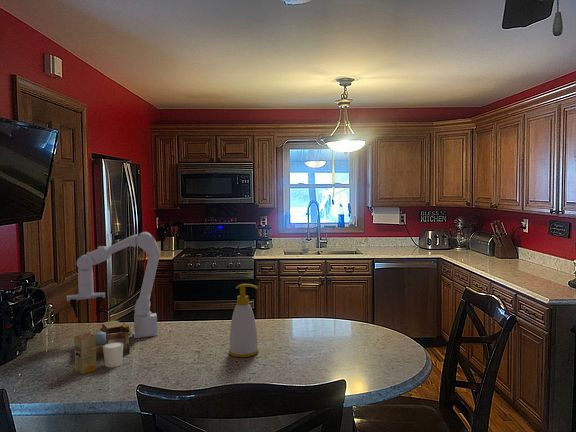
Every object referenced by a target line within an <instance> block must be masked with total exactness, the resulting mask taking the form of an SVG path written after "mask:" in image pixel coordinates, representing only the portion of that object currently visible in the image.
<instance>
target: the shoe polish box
mask: <svg viewBox="0 0 576 432" xmlns="http://www.w3.org/2000/svg"><path fill="white" fill-rule="evenodd" d="M73 338H74V340H73V341H74V343H73V344H74V369H75V372H77V373H79V374H81V375H84V374H88V373H91V372H94V371H97V358H96V341H95V334H91V333H89V332H87V333H83V334H78V335H75V336H73Z"/></svg>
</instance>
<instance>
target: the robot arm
mask: <svg viewBox="0 0 576 432" xmlns="http://www.w3.org/2000/svg"><path fill="white" fill-rule="evenodd" d="M137 246H138V247H139V248H140V249H141V250H143V251H144V252H145V254H147V256H148V257H147V263H146V267H145V271H144V275H143V280H142V284H141V289H140V293H139V297H138V298H137V299H136V301H135V305H134V308H133V310H134V313H133V320H134V322H133V323H134V326H133V327H134V331H133V332H132V334H133V335H132V336H133V338H134V339H139V338H147V337H155V336H158V329H159V328H158V317H157V313H156V312H154V313H153V312H152V311H151V303H152V302H151V296H152V292H153V286H154V282H155V279H156V273H157V270H158V264H159V260H160V256H161V251H160V248H159V246H158V244H157V241H156V239H155V237H154V235H152V234H151V233H150V232H148V231H142V232H140V233H136V234H133V235H130V236H128V237H125V238H124V239H122V240H120V241H118V242H116V243H114V244H112V245H110V246H106V245H105V246H104V245H99V246H97V247H96V248H97V249H94V250H92V251H87V252H86V254H83V255H81V256H80V257H78V258H77V260H76V266H77V273H78V274H77V281H78V282H77V283H78V294H69V295H66V301H67V302H69V304H70V306H71V307H72V310H73V312H74V315H75V319H77V318H79V315H78V313H79V312H78V301H79V300H81V301H82V300H90V299H91V300H93V299H95V304H96V305H95V306H96V307H95V308H96V309H95V310H96V311H95V316H99V310H100V308H101V305H102V302H103V299H105V298H106V292H95V291H94V287H95V286H94V272H93V265H94V266H96V265H98V264H100V263H102V262H105V261H107V260H110V258H111V256H112V254H115V253H116V252H119V251H122V250H124V249H126V248H128V247H134V248H136V247H137Z"/></svg>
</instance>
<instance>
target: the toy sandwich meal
mask: <svg viewBox="0 0 576 432" xmlns="http://www.w3.org/2000/svg"><path fill="white" fill-rule="evenodd" d="M101 326H102V327H100V331H99V332H106V334H111V333H120V332H127V335H128V336H129V335H130V334H131V333H132V329H130V325H127V324H126V323H125V322H120V321H119V320H111V321H105V322H102V323H101Z"/></svg>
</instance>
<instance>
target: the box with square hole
mask: <svg viewBox="0 0 576 432" xmlns="http://www.w3.org/2000/svg"><path fill="white" fill-rule="evenodd" d="M113 342H120V343H123V356H124V355H130V353H131V351H130V340H129V335H127V332H120V333H111V334H106V344H108V343H113ZM103 346H104V345H101V346H96V359H101V358H104V353H103Z"/></svg>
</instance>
